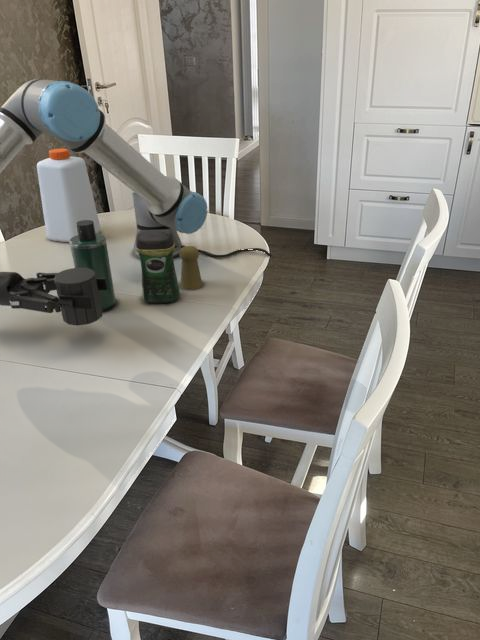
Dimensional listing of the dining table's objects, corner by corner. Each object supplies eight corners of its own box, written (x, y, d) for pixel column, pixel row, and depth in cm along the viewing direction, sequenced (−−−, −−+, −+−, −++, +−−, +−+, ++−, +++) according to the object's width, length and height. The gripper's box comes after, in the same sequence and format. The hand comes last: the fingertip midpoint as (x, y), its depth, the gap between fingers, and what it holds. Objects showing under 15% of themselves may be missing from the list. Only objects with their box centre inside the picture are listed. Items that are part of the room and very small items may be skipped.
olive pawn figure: (206, 282, 153) (204, 245, 147) (195, 291, 148) (192, 253, 143) (187, 279, 155) (184, 242, 149) (176, 287, 151) (172, 249, 145)
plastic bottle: (42, 240, 182) (22, 153, 168) (68, 226, 195) (52, 144, 180) (81, 245, 178) (65, 156, 164) (105, 230, 191) (92, 146, 176)
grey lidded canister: (101, 305, 127) (94, 265, 122) (102, 322, 120) (95, 280, 115) (64, 310, 125) (55, 269, 120) (63, 327, 118) (53, 285, 113)
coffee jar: (180, 291, 148) (175, 224, 139) (178, 304, 142) (172, 235, 132) (145, 291, 148) (136, 225, 138) (140, 305, 141) (132, 236, 132)
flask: (115, 296, 146) (102, 215, 134) (116, 310, 139) (103, 226, 127) (82, 300, 144) (66, 218, 132) (82, 314, 137) (65, 229, 125)
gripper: (27, 283, 132) (117, 287, 130) (-22, 326, 114) (82, 332, 112) (20, 254, 128) (112, 258, 126) (-32, 294, 110) (75, 299, 108)
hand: (98, 293), depth 119 cm, fingers closed on grey lidded canister, 9 cm apart
